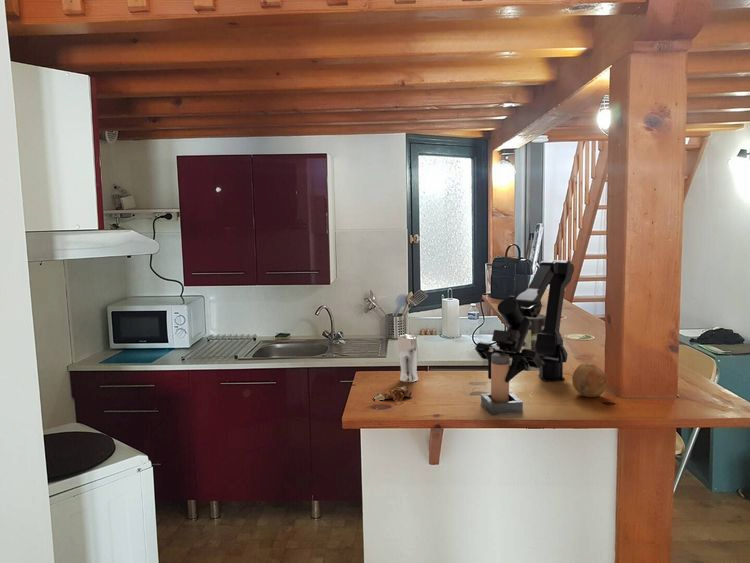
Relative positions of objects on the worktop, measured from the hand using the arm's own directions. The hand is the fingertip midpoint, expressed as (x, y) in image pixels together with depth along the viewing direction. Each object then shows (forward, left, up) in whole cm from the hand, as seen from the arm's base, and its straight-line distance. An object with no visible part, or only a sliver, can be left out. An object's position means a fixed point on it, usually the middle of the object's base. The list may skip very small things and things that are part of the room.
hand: (497, 380), depth 157 cm
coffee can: (-35, -57, -9) cm, 67 cm away
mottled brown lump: (+28, -17, -9) cm, 34 cm away
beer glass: (+19, -33, -9) cm, 39 cm away
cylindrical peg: (-1, -1, -8) cm, 8 cm away
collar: (-1, -1, -8) cm, 9 cm away
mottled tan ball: (-30, -4, -9) cm, 31 cm away
